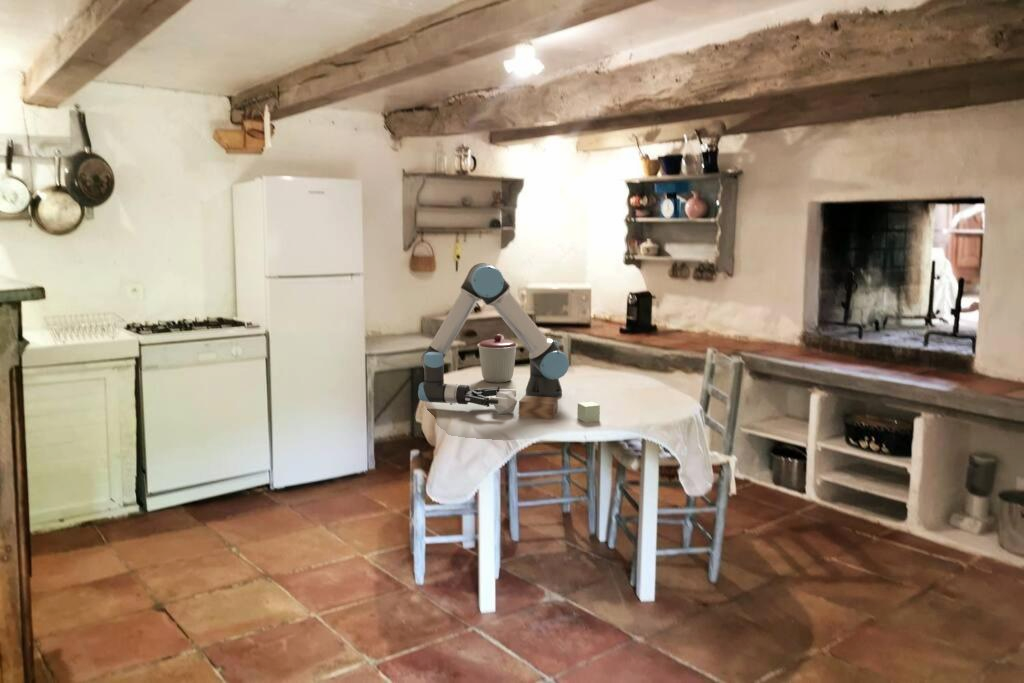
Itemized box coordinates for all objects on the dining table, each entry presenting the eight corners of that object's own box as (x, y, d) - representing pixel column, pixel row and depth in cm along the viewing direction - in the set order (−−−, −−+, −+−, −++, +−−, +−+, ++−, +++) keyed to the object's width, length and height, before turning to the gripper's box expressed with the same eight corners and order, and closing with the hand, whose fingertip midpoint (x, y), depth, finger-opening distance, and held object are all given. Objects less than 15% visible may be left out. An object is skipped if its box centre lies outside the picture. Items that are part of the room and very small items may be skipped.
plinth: (519, 416, 297) (519, 401, 296) (524, 410, 306) (524, 395, 305) (553, 419, 294) (553, 403, 293) (557, 413, 303) (557, 397, 301)
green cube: (591, 417, 298) (591, 401, 297) (599, 421, 292) (599, 405, 291) (577, 418, 295) (577, 402, 294) (585, 422, 290) (585, 406, 289)
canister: (514, 385, 347) (514, 338, 344) (473, 384, 350) (473, 337, 346) (520, 377, 365) (520, 331, 361) (481, 375, 368) (481, 330, 364)
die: (515, 411, 308) (500, 389, 308) (525, 404, 300) (510, 382, 301) (499, 422, 303) (484, 400, 304) (509, 416, 296) (494, 393, 296)
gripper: (467, 396, 319) (519, 399, 314) (448, 411, 295) (503, 415, 290) (467, 377, 317) (519, 380, 312) (447, 392, 293) (503, 395, 288)
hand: (511, 397), depth 301 cm, fingers open, 13 cm apart
